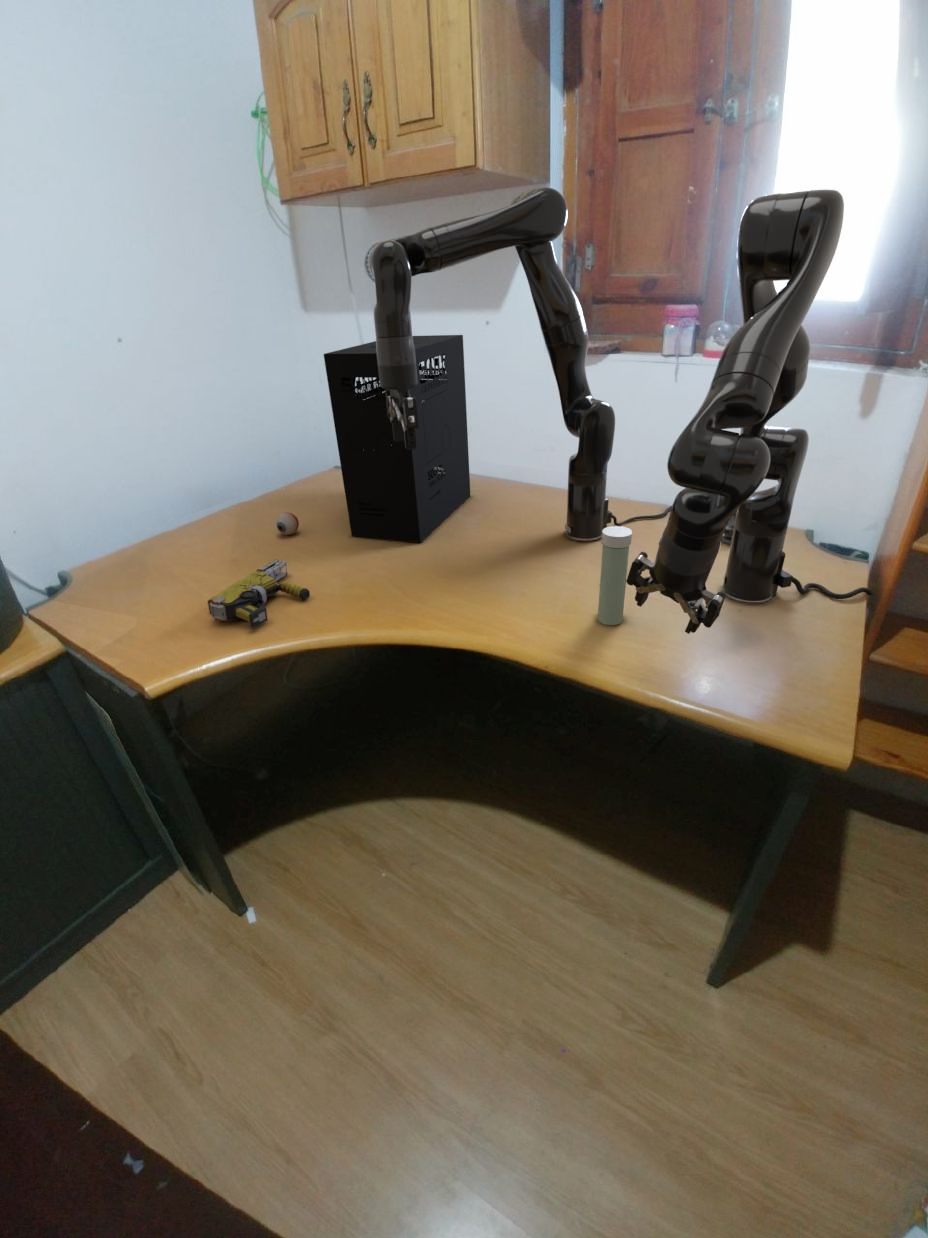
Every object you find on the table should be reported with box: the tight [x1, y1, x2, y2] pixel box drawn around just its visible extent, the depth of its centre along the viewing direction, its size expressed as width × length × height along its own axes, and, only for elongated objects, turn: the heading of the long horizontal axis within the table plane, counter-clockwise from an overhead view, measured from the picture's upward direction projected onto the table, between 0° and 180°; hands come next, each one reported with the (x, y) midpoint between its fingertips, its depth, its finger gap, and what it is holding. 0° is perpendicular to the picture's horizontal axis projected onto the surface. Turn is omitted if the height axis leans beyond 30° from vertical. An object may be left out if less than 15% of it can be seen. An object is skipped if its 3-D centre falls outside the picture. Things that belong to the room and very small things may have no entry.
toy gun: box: [207, 558, 311, 629], centre depth 130 cm, size 5×24×15 cm
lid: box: [601, 525, 633, 548], centre depth 109 cm, size 5×5×2 cm
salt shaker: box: [721, 510, 737, 545], centre depth 143 cm, size 6×6×12 cm
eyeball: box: [275, 511, 300, 536], centre depth 163 cm, size 6×6×6 cm
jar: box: [597, 544, 630, 626], centre depth 113 cm, size 5×5×18 cm
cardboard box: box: [323, 334, 471, 544], centre depth 162 cm, size 38×20×45 cm, turn 159°
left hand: (404, 444), depth 126 cm, fingers open, 8 cm apart
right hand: (665, 615), depth 96 cm, fingers open, 8 cm apart
